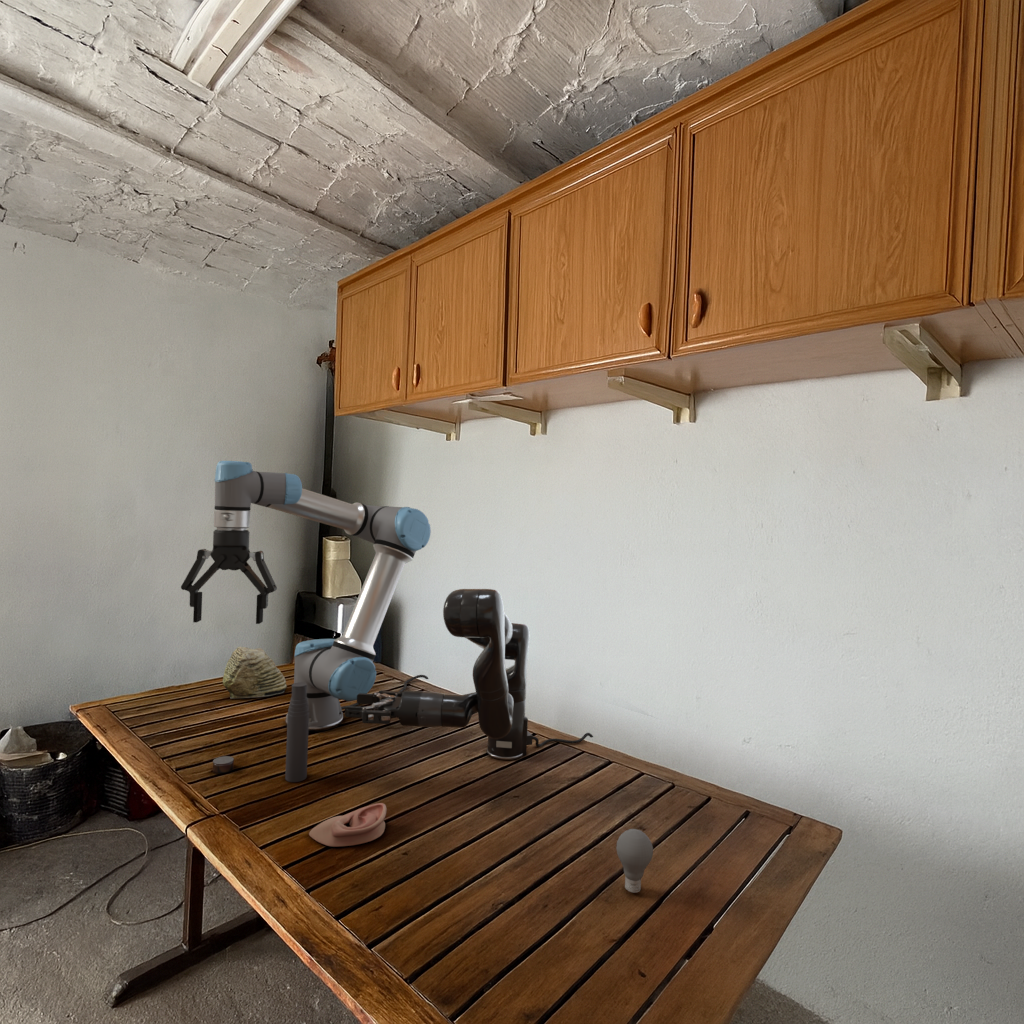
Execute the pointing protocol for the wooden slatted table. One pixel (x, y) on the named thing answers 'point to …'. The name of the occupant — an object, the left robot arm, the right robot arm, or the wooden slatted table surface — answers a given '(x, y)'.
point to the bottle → (297, 734)
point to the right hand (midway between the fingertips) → (351, 704)
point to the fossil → (252, 674)
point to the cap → (223, 764)
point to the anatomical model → (352, 827)
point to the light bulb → (634, 857)
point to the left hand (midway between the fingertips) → (228, 622)
